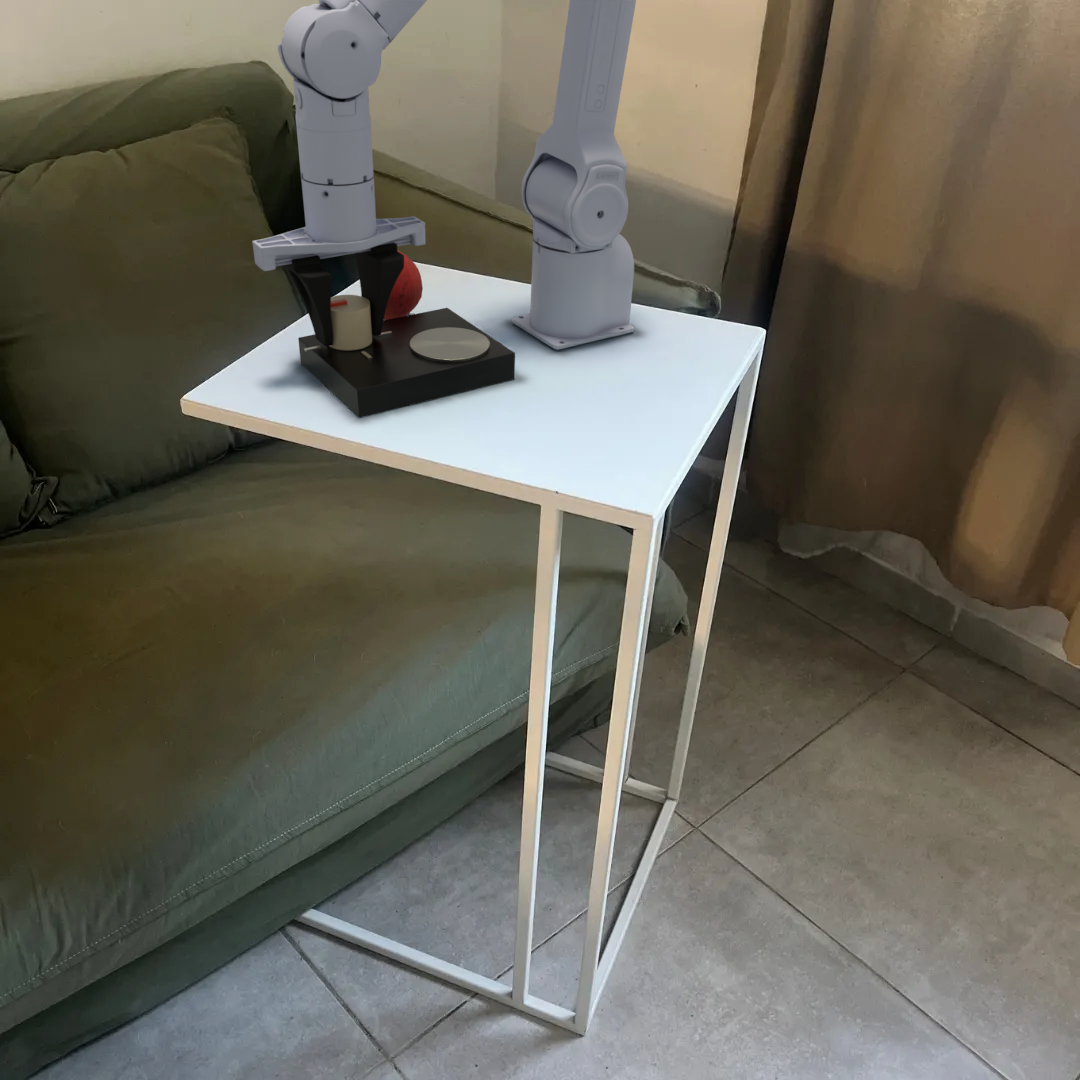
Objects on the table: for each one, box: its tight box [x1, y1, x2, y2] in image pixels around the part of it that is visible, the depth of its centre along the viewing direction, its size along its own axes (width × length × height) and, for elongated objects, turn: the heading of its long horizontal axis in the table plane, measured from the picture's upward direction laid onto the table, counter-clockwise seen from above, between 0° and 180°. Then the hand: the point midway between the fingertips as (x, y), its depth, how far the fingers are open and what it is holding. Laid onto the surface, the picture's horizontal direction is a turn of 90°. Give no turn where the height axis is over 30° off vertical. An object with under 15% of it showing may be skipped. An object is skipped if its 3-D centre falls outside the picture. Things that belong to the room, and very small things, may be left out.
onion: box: [384, 246, 424, 320], centre depth 97 cm, size 6×6×8 cm
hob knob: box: [329, 294, 372, 350], centre depth 87 cm, size 4×4×4 cm
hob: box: [297, 307, 516, 418], centre depth 89 cm, size 16×13×3 cm
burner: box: [410, 327, 490, 363], centre depth 89 cm, size 7×7×1 cm
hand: (349, 336), depth 88 cm, fingers closed on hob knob, 4 cm apart
